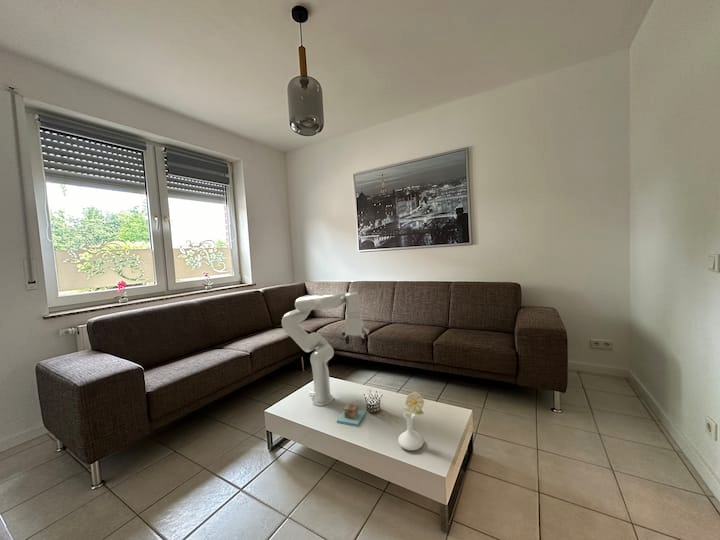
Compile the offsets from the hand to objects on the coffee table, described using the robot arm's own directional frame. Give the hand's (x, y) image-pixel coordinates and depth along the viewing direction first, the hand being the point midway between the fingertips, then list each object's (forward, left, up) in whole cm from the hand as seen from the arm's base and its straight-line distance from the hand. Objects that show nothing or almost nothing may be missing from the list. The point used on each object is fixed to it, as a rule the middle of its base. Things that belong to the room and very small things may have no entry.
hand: (355, 344), depth 160 cm
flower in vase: (+35, -24, -36) cm, 56 cm away
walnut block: (0, -12, -35) cm, 37 cm away
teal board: (0, -12, -36) cm, 38 cm away
